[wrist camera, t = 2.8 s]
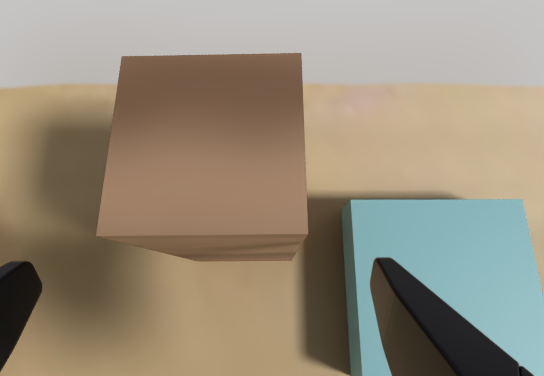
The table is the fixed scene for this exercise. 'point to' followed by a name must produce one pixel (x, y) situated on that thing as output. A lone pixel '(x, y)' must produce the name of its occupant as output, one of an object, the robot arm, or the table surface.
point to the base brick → (447, 271)
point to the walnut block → (208, 157)
